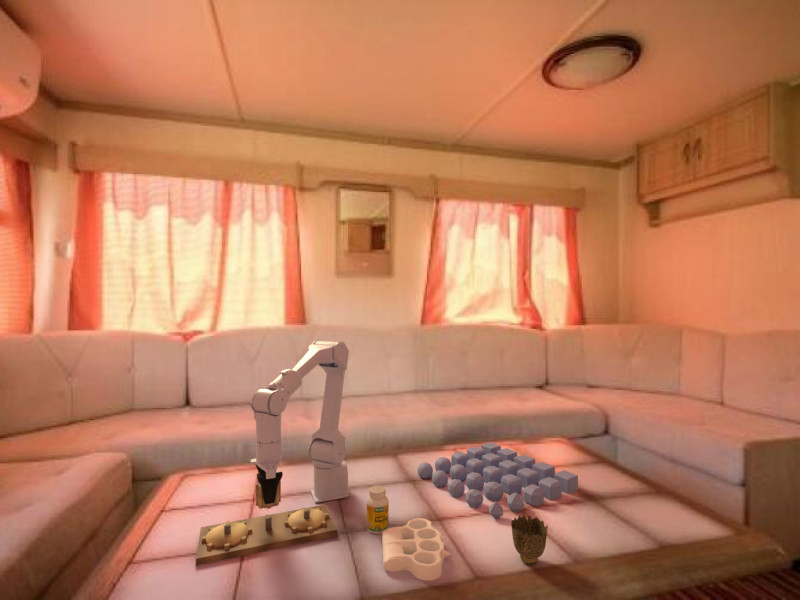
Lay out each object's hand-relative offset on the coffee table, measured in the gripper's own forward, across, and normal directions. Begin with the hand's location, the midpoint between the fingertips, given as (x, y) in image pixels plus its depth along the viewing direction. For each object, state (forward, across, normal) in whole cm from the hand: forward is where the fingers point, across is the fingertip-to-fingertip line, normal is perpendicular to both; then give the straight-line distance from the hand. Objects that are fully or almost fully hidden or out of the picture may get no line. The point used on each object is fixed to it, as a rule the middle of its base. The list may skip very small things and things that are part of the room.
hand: (268, 497), depth 97 cm
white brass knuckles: (+10, +20, +30) cm, 37 cm away
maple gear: (+1, 0, 0) cm, 1 cm away
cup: (+9, +31, +51) cm, 60 cm away
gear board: (+9, 0, 0) cm, 9 cm away
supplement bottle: (+9, +7, +25) cm, 28 cm away
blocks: (+10, -4, +66) cm, 67 cm away
